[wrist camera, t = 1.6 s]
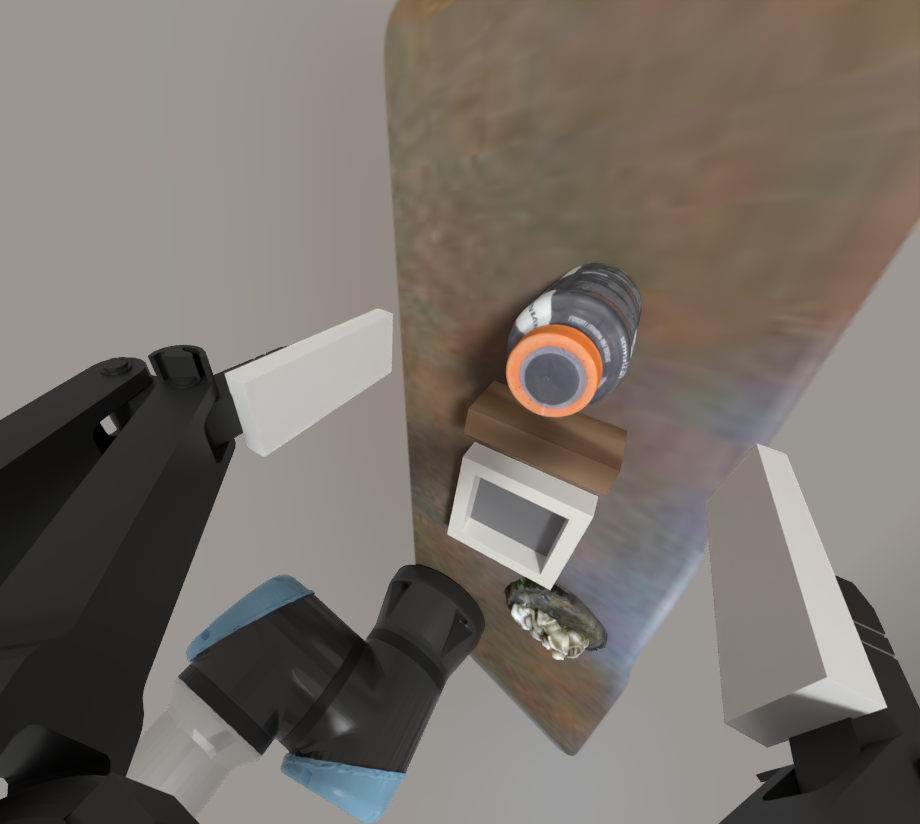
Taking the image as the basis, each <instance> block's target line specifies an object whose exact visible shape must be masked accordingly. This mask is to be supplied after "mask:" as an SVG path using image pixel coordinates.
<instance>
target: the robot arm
mask: <svg viewBox="0 0 920 824" xmlns="http://www.w3.org/2000/svg"><path fill="white" fill-rule="evenodd" d="M392 331H393V314H392V313H389V312H387V311H384V310H381V309H375V310H373V311H370V312H368V313H365V314H363V315H361V316H358V317H356V318H354V319H351V320H349V321H347V322H344V323H342V324H340V325H337V326H335V327H333V328H330V329H328V330H325V331H323V332H321V333H318V334H316V335H314V336H311V337H309V338H307V339H304V340H302V341H300V342H297V343H295V344H293V345H290V346H285V347H280V348H277V349H275V350H272V351H270V352H268V353H266V355H261V356H258V357H256V358H255V360H254V359H251V360H249V361H246V362H244V363H242V364H239V365H237V366H234V367H232V368H230V369H227V370H225V371H223V372H220V373H218V374H215V375H213V373H212V370H211V367H210V364H209V361H208V358H207V355H206V352H205V351H204V350H203V349H202V348H200V347H197V346H191V345H176V346H170V347H165V348H162V349H159V350H157V351H154V352H153V353H151V354H150V355H149V356H148V357H149V359H150V362H151V364H152V366H153V368H154V371H155V373H156V375H157V376H153V375H151V374H150V372H149V370H148V367H147V365H146V363H145V362H144V361H142V360H141V359H137V358H125V357H119V358H112V359H109V360H106V361H103V362H100V363H98V364H95V365H93V366H91V367H90V368H88V369H86V370H85V371H83V372H81V373H79V374H78V375H76V376H75V377H73V378H71V379H69V380H68V381H66V382H64V383H63V384H61V385H59V386H57V387H56V388H54V389H52V390H51V391H49V392H47V393H45V394H44V395H42V396H40V397H39V398H37V399H35V400H34V401H32V402H30V403H29V404H27V405H25V406H23V407H22V408H20V409H18V410H17V411H15V412H13V413H12V414H10V415H8V416H7V417H5V418H3V419H2V420H0V777H1V778H4V779H5V781H6V782H7V783H8V794H7V797H5V798H3V799H1V800H0V824H199V823H198V822H197V821H196V819H195V818H196V817H197V816H198V814H199V813H200V812H201V810H202V809H203V808H204V806H205V805H206V804H207V802H208V801H209V800H210V799H211V797H212V796H213V794H214V793H215V792H216V791H217V789H218V788H219V787H220V785H221V784H222V783H223V781H224V780H225V779H226V777H227V776H228V775H229V773H230V772H231V771H232V770H234V769H236V768H237V767H239V766H242V765H245V764H248V763H251V762H254V761H257V760H259V759H260V758H261V756H262V755H263V753H264V752H265V751H266V749H267V748H268V747H269V745H270V744H271V743H272V741H273V740H274V739H277V740H278V741H279V742H280V743H281V744H282V745H283V746H284V747H286V748H287V749H288V750H289V753H288V754H286V755H285V756H284V760H283V763H282V765H281V771H282V773H284V774H285V775H287V776H289V777H290V778H292V779H294V780H295V781H297V782H298V783H300V784H301V785H303V786H305V787H306V788H308V789H309V790H311V791H313V792H314V793H316V794H317V795H319V796H321V797H322V798H324V799H326V800H327V801H329V802H330V803H332V804H334V805H335V806H337V807H338V808H340V809H342V810H343V811H345V812H346V813H348V814H350V815H351V816H353V817H355V818H356V819H358V820H359V821H361V822H363V823H366V824H371V823H374V822H376V821H377V820H379V819H380V818H381V817H382V816H383V814H384V813H385V811H386V810H387V808H388V806H389V804H390V802H391V800H392V798H393V796H394V794H395V791H396V790H397V788H398V786H399V784H400V782H401V780H403V779H404V778H405V776H406V771H407V768H408V766H409V764H410V762H411V759H412V757H413V755H414V753H415V750H416V748H417V746H418V743H419V741H420V739H421V737H422V735H423V732H424V730H425V728H426V726H427V724H428V721H429V719H430V716H431V714H432V712H433V710H434V708H435V706H436V703H437V701H438V699H439V696H440V694H441V692H442V690H443V688H444V685H445V683H446V681H447V679H448V678H449V676H450V675H451V674H452V673H453V672H454V671H455V670H456V669H457V667H458V666H459V665H460V664H461V663H462V662H463V661H464V659H465V658H466V657H467V656H468V655H469V654H470V653H471V652H472V650H473V649H474V648H475V647H476V646H477V644H478V642H479V640H480V638H481V635H482V633H483V631H484V628H485V621H484V617H483V614H482V612H481V610H480V609H479V607H478V605H477V604H476V603H475V601H474V600H473V599H472V598H471V597H470V596H469V595H468V593H466V592H465V591H464V590H463V589H462V588H461V587H460V586H459V585H457V584H456V583H455V582H453V581H452V580H451V579H449V578H447V577H446V576H444V575H442V574H441V573H439V572H437V571H434V570H432V569H430V568H427V567H423V566H419V565H406V566H403V567H401V568H400V569H399V570H398V572H397V573H396V575H395V576H394V578H393V579H392V581H391V582H390V584H389V587H388V590H387V593H386V596H385V599H384V602H383V605H382V608H381V611H380V614H379V617H378V620H377V623H376V625H375V627H374V628H373V630H372V631H371V633H370V634H369V636H368V637H367V639H366V640H365V641H364V640H363V639H362V638H361V637H360V636H358V634H356V633H355V632H354V631H353V630H352V629H351V628H350V627H349V626H347V625H346V624H345V623H344V622H343V621H342V620H341V619H340V618H339V617H337V615H336V614H334V613H333V612H332V611H331V610H330V609H329V608H328V607H327V606H326V605H325V604H324V603H323V602H322V601H320V600H319V599H318V598H317V597H316V596H315V595H314V594H315V593H314V591H312V590H308V589H307V588H306V587H304V586H303V585H302V584H301V583H300V582H298V581H297V580H296V579H295V578H293V577H292V576H289V575H279V576H276V577H274V578H272V579H270V580H268V581H266V582H265V583H263V584H261V585H260V586H258V587H257V588H256V589H254V590H253V591H251V592H250V593H249V594H247V595H246V596H245V597H243V598H242V599H241V600H239V601H238V602H237V603H236V604H234V605H233V606H232V607H230V608H229V609H228V610H227V611H225V612H224V613H223V614H222V615H221V616H219V617H218V618H217V619H216V620H215V621H214V622H213V623H212V624H210V626H209V627H208V628H207V629H205V630H204V631H203V632H202V633H201V634H200V635H198V636H197V637H196V638H195V639H194V640H193V641H192V642H191V644H190V645H189V646H188V648H187V651H186V654H187V660H188V661H190V662H191V661H193V662H192V663H191V664H190V665H189V666H188V667H187V668H186V669H185V670H184V671H183V672H182V673H181V674H180V675H179V676H178V677H177V678H176V679H175V681H174V685H173V690H172V695H171V700H170V703H169V705H168V708H167V710H166V711H165V712H164V713H163V714H162V715H161V716H160V717H159V718H158V719H157V720H156V721H155V722H154V723H153V725H152V726H151V727H150V728H149V729H148V730H147V731H146V732H145V733H144V734H143V735H142V736H141V737H140V734H141V731H142V726H143V718H144V710H143V691H144V687H145V683H146V680H147V678H148V675H149V672H150V670H151V667H152V665H153V662H154V659H155V657H156V654H157V651H158V649H159V646H160V644H161V641H162V638H163V636H164V633H165V630H166V628H167V625H168V623H169V620H170V617H171V614H172V612H173V610H174V607H175V604H176V601H177V599H178V596H179V594H180V591H181V588H182V586H183V583H184V581H185V578H186V575H187V573H188V570H189V568H190V565H191V562H192V560H193V557H194V554H195V552H196V549H197V546H198V544H199V541H200V538H201V536H202V533H203V531H204V528H205V525H206V523H207V520H208V518H209V515H210V512H211V510H212V507H213V505H214V502H215V499H216V497H217V494H218V492H219V489H220V486H221V484H222V481H223V478H224V476H225V473H226V471H227V468H228V465H229V463H230V460H231V458H232V455H233V452H234V449H235V439H234V438H235V437H237V436H238V435H240V434H242V433H243V435H244V439H245V442H246V445H247V447H248V448H250V449H251V450H253V451H255V452H256V453H258V454H260V455H262V456H263V457H265V456H266V455H268V454H269V453H271V452H272V451H274V450H275V449H277V448H278V447H280V446H281V445H283V444H284V443H286V442H287V441H289V440H290V439H292V438H293V437H295V436H296V435H298V434H299V433H301V432H302V431H303V430H305V429H307V428H308V427H310V426H311V425H313V424H314V423H316V422H317V421H319V420H320V419H322V418H323V417H325V416H326V415H328V414H329V413H331V412H332V411H334V410H335V409H337V408H338V407H340V406H341V405H343V404H344V403H346V402H347V401H349V400H350V399H351V398H353V397H355V396H356V395H358V394H359V393H361V392H362V391H364V390H365V389H367V388H368V387H370V386H371V385H373V384H374V383H376V382H377V381H379V380H380V379H382V378H383V377H385V376H386V375H388V374H389V373H391V372H392V334H393V333H392ZM108 415H109V416H110V418H111V420H112V421H113V423H114V425H115V426H116V428H117V430H116V431H115V432H114V433H112V434H110V435H108V434H107V433H106V432H105V430H104V428H103V427H102V426H101V424H100V421H102V420H103V419H104V418H106V417H107V416H108ZM705 504H706V516H707V527H708V538H709V550H710V561H711V573H712V584H713V596H714V607H715V618H716V630H717V641H718V653H719V664H720V676H721V688H722V699H723V710H724V722H725V723H726V724H727V725H729V726H731V727H733V728H734V729H736V730H738V731H739V732H741V733H743V734H745V735H746V736H748V737H750V738H752V739H753V740H755V741H757V742H759V743H760V744H762V745H764V746H766V747H770V746H773V745H776V744H779V743H782V742H785V741H788V740H789V742H790V747H791V752H792V757H793V762H794V764H793V765H789V766H785V767H782V768H778V769H774V770H770V771H766V772H763V773H760V774H757V775H756V776H757V777H758V779H759V780H760V781H761V782H765V781H766V782H765V783H764V784H763V785H762V786H761V787H760V788H758V789H757V790H756V791H755V792H754V793H753V794H752V795H751V796H749V797H748V798H747V799H746V800H745V801H744V802H743V803H741V805H739V806H738V807H737V808H736V809H735V810H734V811H732V812H731V813H730V814H729V815H728V816H727V817H726V818H725V819H724V820H722V821H721V822H720V823H719V824H920V708H919V706H918V704H917V702H916V699H915V697H914V695H913V693H912V691H911V689H910V687H909V684H908V682H907V680H906V678H905V676H904V673H903V671H902V669H901V667H900V665H899V662H898V661H897V660H896V659H894V655H895V654H894V652H893V649H892V647H891V645H890V643H889V641H888V639H887V638H885V637H884V634H885V632H884V630H883V628H882V625H881V623H880V621H879V619H878V617H877V615H876V612H875V610H874V608H873V607H872V606H871V605H870V603H869V602H868V601H867V600H866V598H865V597H864V596H863V595H862V594H861V592H860V591H859V590H858V589H857V587H856V586H855V585H854V584H853V583H852V582H849V581H847V580H844V579H842V578H840V577H838V576H835V575H834V572H833V570H832V567H831V565H830V562H829V560H828V558H827V555H826V552H825V550H824V548H823V545H822V542H821V540H820V537H819V535H818V532H817V530H816V527H815V525H814V522H813V520H812V517H811V515H810V512H809V510H808V507H807V505H806V502H805V500H804V497H803V495H802V492H801V490H800V487H799V485H798V482H797V480H796V477H795V475H794V472H793V470H792V467H791V465H790V462H789V460H788V457H787V455H786V454H785V453H782V452H779V451H776V450H773V449H771V448H768V447H765V446H762V445H759V444H756V445H755V446H754V447H753V448H752V449H751V451H750V452H749V453H748V454H747V455H746V456H745V458H744V459H743V460H742V461H741V462H740V463H739V464H738V466H737V467H736V468H735V469H734V470H733V471H732V472H731V474H730V475H729V476H728V477H727V478H726V479H725V481H724V482H723V483H722V484H721V485H720V486H719V487H718V489H717V490H716V491H715V492H714V493H713V494H712V495H711V497H710V498H709V499H708V500H707V501H706V502H705Z"/></svg>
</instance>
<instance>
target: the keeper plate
mask: <svg viewBox="0 0 920 824" xmlns="http://www.w3.org/2000/svg"><path fill="white" fill-rule="evenodd" d="M597 499H598V496H595V495H593V494H591V493H589V492H586V491H584V490H582V489H580V488H577V487H575V486H573V485H571V484H568V483H566V482H564V481H562V480H559V479H557V478H555V477H553V476H550V475H548V474H546V473H544V472H542V471H539V470H537V469H535V468H533V467H530V466H528V465H526V464H524V463H521V462H519V461H517V460H515V459H512V458H510V457H508V456H506V455H503V454H501V453H499V452H497V451H494V450H492V449H490V448H488V447H485V446H483V445H481V444H479V443H476V442H474V443H473V444H472V446H471V447H470V448H469V450H468V451H467V452H466V454H465V455H464V456H463V460H462V465H461V469H460V474H459V479H458V484H457V489H456V494H455V499H454V504H453V509H452V513H451V518H450V523H449V528H448V533H447V534H448V535H450V536H451V537H453V538H455V539H457V540H459V541H461V542H462V543H464V544H466V545H468V546H470V547H472V548H473V549H475V550H477V551H479V552H481V553H483V554H484V555H486V556H488V557H490V558H492V559H494V560H496V561H497V562H499V563H501V564H503V565H505V566H507V567H508V568H510V569H512V570H514V571H516V572H518V573H519V574H521V575H523V576H525V577H527V578H529V579H530V580H532V581H534V582H536V583H538V584H540V585H541V586H543V587H545V588H547V589H549V590H551V588H552V586H553V585H554V583H555V581H556V580H557V578H558V576H559V574H560V573H561V571H562V569H563V568H564V566H565V564H566V563H567V561H568V559H569V557H570V556H571V554H572V552H573V551H574V549H575V547H576V546H577V544H578V542H579V540H580V539H581V537H582V535H583V534H584V532H585V530H586V529H587V527H588V525H589V523H590V522H591V520H592V518H593V516H594V512H595V508H596V504H597Z"/></svg>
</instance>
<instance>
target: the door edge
mask: <svg viewBox="0 0 920 824" xmlns="http://www.w3.org/2000/svg"><path fill="white" fill-rule="evenodd" d="M464 433H465V434H467V435H469V436H471V437H474V438H476V439H478V440H480V441H483V442H485V443H487V444H489V445H492V446H494V447H496V448H499V449H501V450H503V451H505V452H508V453H510V454H512V455H514V456H517V457H519V458H521V459H523V460H526V461H528V462H530V463H533V464H535V465H537V466H539V467H542V468H544V469H546V470H548V471H551V472H553V473H555V474H557V475H560V476H562V477H564V478H566V479H569V480H571V481H573V482H576V483H578V484H580V485H582V486H585V487H587V488H589V489H591V490H594V491H596V492H598V493H600V494H603V495H605V496H606V494H607V493H608V491H609V489H610V487H611V486H612V484H613V482H614V481H615V479H616V477H617V476H618V474H619V472H620V468H621V463H622V457H623V452H624V446H625V441H626V435H627V431H626V430H623V429H620V428H618V427H615V426H612V425H610V424H607V423H605V422H602V421H599V420H597V419H594V418H591V417H589V416H586V415H584V414H581V413H578V412H576V413H574V414H572V415H568V416H565V417H546V416H541V415H538V414H536V413H534V412H532V411H530V410H528V409H526V408H525V407H524V406H523V405H522V404H520V403H519V401H518V400H517V399H516V398H515V397H514V395H513V394H512V392H511V390H510V388H509V386H508V385H505V384H502V383H500V382H497V381H495V380H494V381H493V382H492V383H491V384H490V385H489V387H488V388H487V389H486V390H485V391H484V392H483V393H482V394H481V395H480V396H479V397H478V398H477V400H476V401H475V402H474V403H473V404H472V405H471V406H470V407H469V408H468V413H467V418H466V424H465V429H464Z"/></svg>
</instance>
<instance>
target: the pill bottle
mask: <svg viewBox="0 0 920 824" xmlns="http://www.w3.org/2000/svg"><path fill="white" fill-rule="evenodd" d="M641 308H642V302H641V297H640V293H639V290H638V287H637V285H636V284H635V282H634V281H633V280H632V278H631V277H630V276H629V275H628V274H627V273H625V272H624V271H623V270H621V269H619V268H616V267H614V266H612V265H609V264H602V263H590V264H585V265H582V266H579V267H577V268H574V269H573V270H571V271H569V272H568V273H566V274H565V275H564V276H563V277H561V278H560V279H559V280H558V281H557V282H556V283H554V284H553V285H552V286H551V287H549V288H548V289H547V290H546V291H545V292H544V293H542V294H541V295H540V296H539V297H538V298H536V299H535V300H534V301H533V302H532V303H531V304H530V305H529V306H528V307H527V308H525V309H524V310H523V311H522V313H521V314H520V315H519V316H518V318H517V319H516V320H515V322H514V324H513V326H512V328H511V331H510V334H509V337H508V344H507V355H508V361H507V365H506V378H507V382H508V386H509V388H510V390H511V392H512V394H513V395H514V397H515V398H516V399H517V400H518V401H519V403H520V404H522V405H523V406H524V407H525V408H526V409H528V410H530V411H532V412H534V413H536V414H538V415H541V416H546V417H565V416H568V415H572V414H574V413H576V412H578V411H580V410H581V409H583V408H584V407H585V406H588V405H591V404H594V403H596V402H598V401H600V400H602V399H603V398H605V397H606V396H608V395H609V394H610V393H611V392H612V391H613V390H614V389H615V388H616V387H617V386H618V385H619V383H620V382H621V380H622V378H623V377H624V375H625V373H626V370H627V368H628V365H629V361H630V358H631V355H632V352H633V348H634V343H635V339H636V334H637V329H638V325H639V321H640V316H641Z"/></svg>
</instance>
